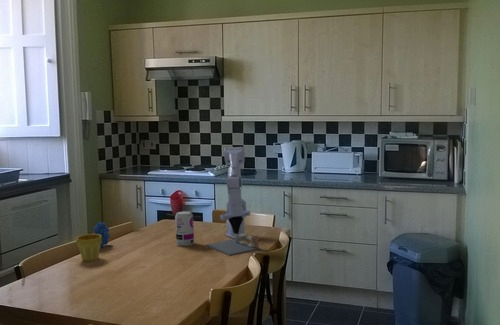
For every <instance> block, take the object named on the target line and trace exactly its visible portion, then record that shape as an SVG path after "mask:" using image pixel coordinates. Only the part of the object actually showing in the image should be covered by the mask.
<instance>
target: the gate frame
mask: <svg viewBox="0 0 500 325" xmlns="http://www.w3.org/2000/svg"><path fill="white" fill-rule="evenodd" d="M252 237H255V247H250V246H247V245H244V244H241V243H239V236H238V234H236V238H232V239H228V240H223V241H217V242H211V243H206V244H205V246H206V247H208V248H210V249H212V250H215V251H217V252H220V253H222V254H225V255H226V256H234V255H235V256H236V255H240V254H245V253H249V252H254V251H258V250H261V248H260V247H259V235H257V234H254V235H252Z"/></svg>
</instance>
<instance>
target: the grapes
mask: <svg viewBox="0 0 500 325" xmlns="http://www.w3.org/2000/svg"><path fill="white" fill-rule="evenodd" d="M92 230H93V233H92V234H99V235H101V236H102V244H100V248H103V247H104V246H106V245H108V243H109V239H110V238H111V235H110V234H109V232H110V228H109V227H108V226H107V224H106V223H105V222H100V221H98V222H97V223H96V225H95V226H93V229H92Z"/></svg>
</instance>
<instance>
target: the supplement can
mask: <svg viewBox="0 0 500 325" xmlns="http://www.w3.org/2000/svg"><path fill="white" fill-rule="evenodd" d="M174 220H175V221H174V222H175V239H176V240H175V242H176V244H177V245H178V246H179V247H188V246H192V245H193V244H194V243H195V230H194V215H193V213H192V211H189V210H188V211H185V210H183V211H178V212H175V217H174Z"/></svg>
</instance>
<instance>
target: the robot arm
mask: <svg viewBox="0 0 500 325" xmlns="http://www.w3.org/2000/svg"><path fill="white" fill-rule="evenodd" d="M223 154H224V162H225V165H228V166H229V167H228V169H227V178H226V189H227V195H228V197H227V198H228V201H226V208H225V210H226V213H224V214H220V215H219V217H220V220H221V221H225V220H226V221H225V222H226V223H225V224H226V225H225V226H226V229H225V230H226V233H225V234H224V235H225V236H227V237H229V238H232V239H236V234H239V233H242V234H245V235H248V234H247V233H245V218H247V217H248V216H251V210H247V202H246V201H245V199H243V198H242V189H243V187H242V186H243V182H242V174H241V172H242V171H241V165H244V164H245V162H246V160H245V159H246V157H245V155H246V154H245V147H244V146H237V147H236V146H234V147H233V146H231V147H228V146H227V147H224V148H223Z"/></svg>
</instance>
